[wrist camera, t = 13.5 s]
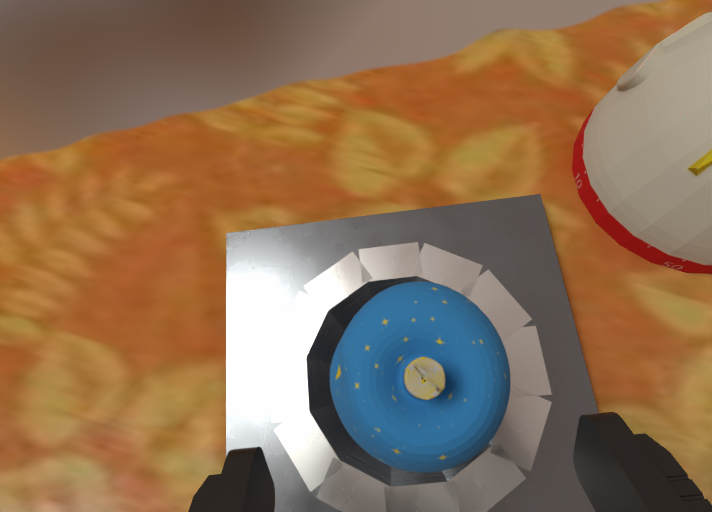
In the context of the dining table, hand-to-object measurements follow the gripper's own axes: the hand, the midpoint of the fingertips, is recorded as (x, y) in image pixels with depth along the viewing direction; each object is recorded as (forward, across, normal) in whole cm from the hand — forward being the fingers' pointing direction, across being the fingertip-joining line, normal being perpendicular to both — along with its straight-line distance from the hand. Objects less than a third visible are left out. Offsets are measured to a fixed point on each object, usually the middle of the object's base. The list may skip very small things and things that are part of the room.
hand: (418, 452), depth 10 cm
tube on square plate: (+11, 0, +8) cm, 14 cm away
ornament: (+10, 0, +8) cm, 13 cm away
